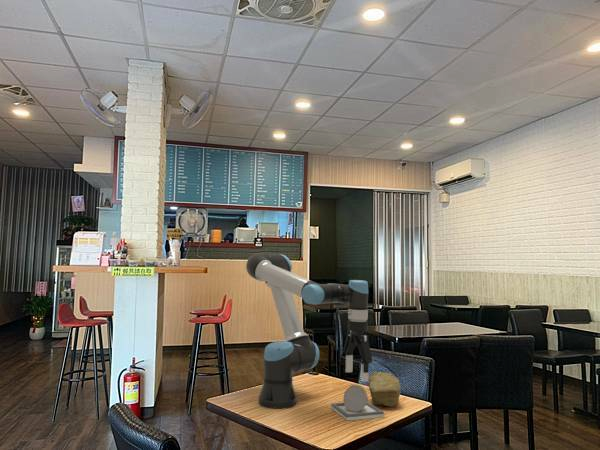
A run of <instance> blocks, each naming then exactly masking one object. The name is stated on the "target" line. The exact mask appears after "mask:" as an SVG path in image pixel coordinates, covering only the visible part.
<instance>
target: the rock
mask: <svg viewBox="0 0 600 450" xmlns="http://www.w3.org/2000/svg"><path fill="white" fill-rule="evenodd" d="M400 384H401V381H400V380H399V377H396V376H395V375H394V374H392V373H390V372H383V371H382V372H380V371H373V372H372V373H371V374H369V375H368V391H370V397H371V400H372V402H373V403H374V404H375V405H376V406H385V407H392V408H394V407H396V406H397V405H398V403H399V400H400V395H401V391H402V389H401V385H400Z"/></svg>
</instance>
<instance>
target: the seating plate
mask: <svg viewBox="0 0 600 450" xmlns="http://www.w3.org/2000/svg"><path fill="white" fill-rule="evenodd" d="M330 409H332V410H333V411H334V412H335V413H337V414H338V415H339V416H341V418H342V419H344V420H346V421H347V422H348V421H358V420H367V419H368V420H369V419H378V418H379V419H381V418H385V412H384V411H383V410H382V409H380V408H378V407H377V406H375V405H374V404H372V403H371V402H369V401H368V402H367V405H366V406H365V407H364V408H363V409H362V410H360V411H357V412H351V411H350V410H348V409H347V408H346V406H345V404H344V401H342V402H332V403H331V405H330Z"/></svg>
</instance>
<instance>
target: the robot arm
mask: <svg viewBox="0 0 600 450" xmlns="http://www.w3.org/2000/svg"><path fill="white" fill-rule="evenodd" d="M245 269H246V272H247V274H248V275H249V276H250V277H251V278H252V279H255V280H257V281H259V282H265V285H266V287H268V288H270V290H271V294H272V297H273V300H274V301H273V302H274V305H275V308H276V311H277V314H278V317H279V322H280V325H281V328H282V331H283V335H284V338H285V339H284V340H282V341H281V340H280V341H274V342H271V343H269V344H267V345H265V348H264V353H263V384H262V387H261V390H260V392H259V396H258V404H259V405H260V406H262V407H264V408H270V409H286V408H287V409H288V408H291V407H294V406H296V404H297V394H296V392H295V389H294V388H295V387H294V385H293V378H294V377H293V374H295V373H299V372H303V371H305V372H306V371H308V370H311V369H313V368H315V367H316V365H317V364H318V362H319V360H320V349H319V347H318V344H317V343H316V342H314V341H313V340H311V338H310V335H309V334H308V333H306V332H305V330H304V328H303V324H302V321H301V319H300V315H299V312H298V308H297V304H296V302H295V299H294V296H293V295H295V296H298V297H299V298H302V300H303V301H304V302H305V303H306V304H308V305H313V306H316V305H323V304H338V303H339V304H348V311H347V315H348V316H347V318H348V321H347V331H346V337H345V342H344V345H343V351H342V352H343V353H344V355H345V371H344V372H345V373H353V370H354V369H353V367H354V366H353V365H354V364H353V363H354V362H353V361H354V354H353V353H354V350H355V348H358V351H359V356H360V359H361V361H360V382H369V367H370V365H369V364H372V363H373V357H372V353H371V347H370V343H369V340H370V339H369V335H365V332H367V331H368V319H369V317H368V316H369V315H368V314H369V306H368V305H369V293H370V292H369V283H368V281H367V280H361V279H360V280H359V279H350V280H349V281H348V284H343V283H333V282H331V283H322V284H321V283H318V282H315V281H313V280H310V279H308V278H306V277H303V276H301V275H298V274H296V273H293V272H292V270H293V265H292V261H291V260H290V259H289V257H287V255H285V254H282V253H277V252H275V253H268V252H267V253H266V252H256V253H254V254H252V255H251V256H249V258H247V261H246V266H245Z"/></svg>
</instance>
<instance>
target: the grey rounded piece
mask: <svg viewBox="0 0 600 450" xmlns="http://www.w3.org/2000/svg"><path fill="white" fill-rule="evenodd" d="M368 398H369V397H368V394H367V391H366V389H365V388H364V387H363V386H361V385H359V384H355V385H353V384H352V385H351V386H349V387H347V389H346V390H345V391H344V394H343V402H344V404H345V406H346V408H347V409H348V410H350V411H351V412H357V411H360V410H362V409H363V408H364V407H365V406H366V405H367V402H369V399H368Z"/></svg>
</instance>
